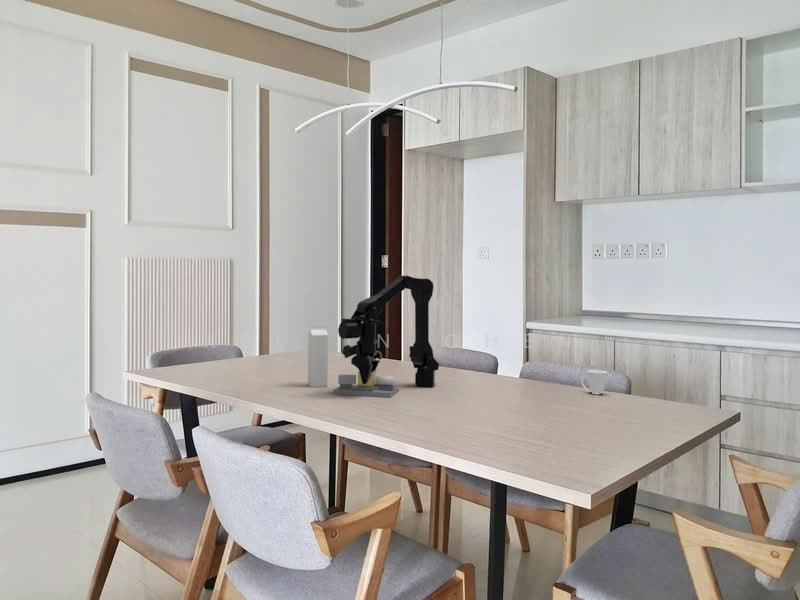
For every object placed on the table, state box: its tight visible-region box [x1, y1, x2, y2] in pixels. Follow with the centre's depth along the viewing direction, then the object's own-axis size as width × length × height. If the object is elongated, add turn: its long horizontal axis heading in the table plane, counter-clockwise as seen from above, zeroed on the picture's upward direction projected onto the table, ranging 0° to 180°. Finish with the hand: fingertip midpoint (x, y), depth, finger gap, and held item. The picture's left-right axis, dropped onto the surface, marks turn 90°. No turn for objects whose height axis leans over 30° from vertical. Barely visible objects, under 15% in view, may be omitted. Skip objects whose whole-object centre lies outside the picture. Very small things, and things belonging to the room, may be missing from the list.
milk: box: [307, 325, 329, 388], centre depth 234 cm, size 6×6×22 cm
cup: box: [580, 369, 609, 395], centre depth 228 cm, size 7×10×8 cm
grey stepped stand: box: [333, 374, 400, 399], centre depth 222 cm, size 20×12×6 cm, turn 77°
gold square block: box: [357, 370, 377, 389], centre depth 222 cm, size 5×5×6 cm
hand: (366, 382), depth 222 cm, fingers open, 6 cm apart
